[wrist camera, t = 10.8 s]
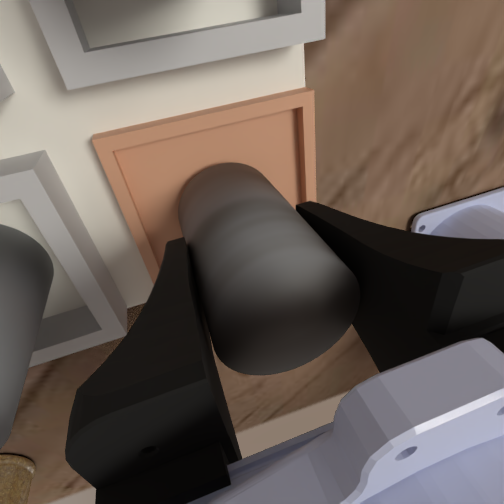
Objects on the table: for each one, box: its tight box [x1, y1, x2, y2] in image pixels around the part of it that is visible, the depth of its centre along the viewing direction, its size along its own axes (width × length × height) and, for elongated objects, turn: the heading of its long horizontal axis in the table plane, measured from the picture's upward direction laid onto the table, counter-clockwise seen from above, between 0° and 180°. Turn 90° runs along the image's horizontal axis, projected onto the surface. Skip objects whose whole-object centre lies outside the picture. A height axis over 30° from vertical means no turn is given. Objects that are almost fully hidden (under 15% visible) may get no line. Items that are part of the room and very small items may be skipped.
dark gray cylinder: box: [178, 162, 360, 375], centre depth 12 cm, size 4×4×7 cm
